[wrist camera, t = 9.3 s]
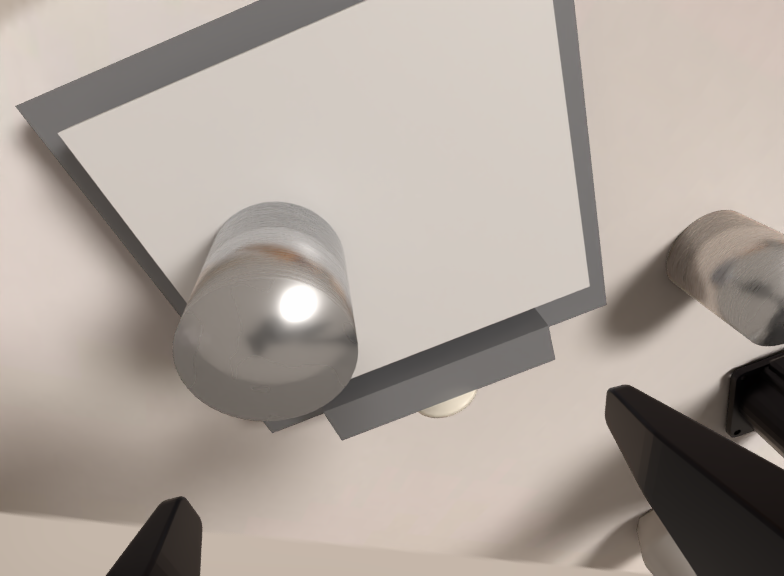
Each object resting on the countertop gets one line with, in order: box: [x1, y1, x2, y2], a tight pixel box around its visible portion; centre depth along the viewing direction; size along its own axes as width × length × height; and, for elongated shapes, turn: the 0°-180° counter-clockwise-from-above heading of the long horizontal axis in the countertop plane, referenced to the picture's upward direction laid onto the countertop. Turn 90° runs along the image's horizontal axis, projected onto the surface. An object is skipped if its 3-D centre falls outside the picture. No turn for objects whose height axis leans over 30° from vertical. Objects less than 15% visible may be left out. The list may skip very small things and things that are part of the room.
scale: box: [15, 0, 607, 440], centre depth 17 cm, size 16×17×5 cm
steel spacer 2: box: [666, 210, 784, 346], centre depth 21 cm, size 4×4×5 cm
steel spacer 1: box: [173, 202, 358, 421], centre depth 13 cm, size 4×4×5 cm
